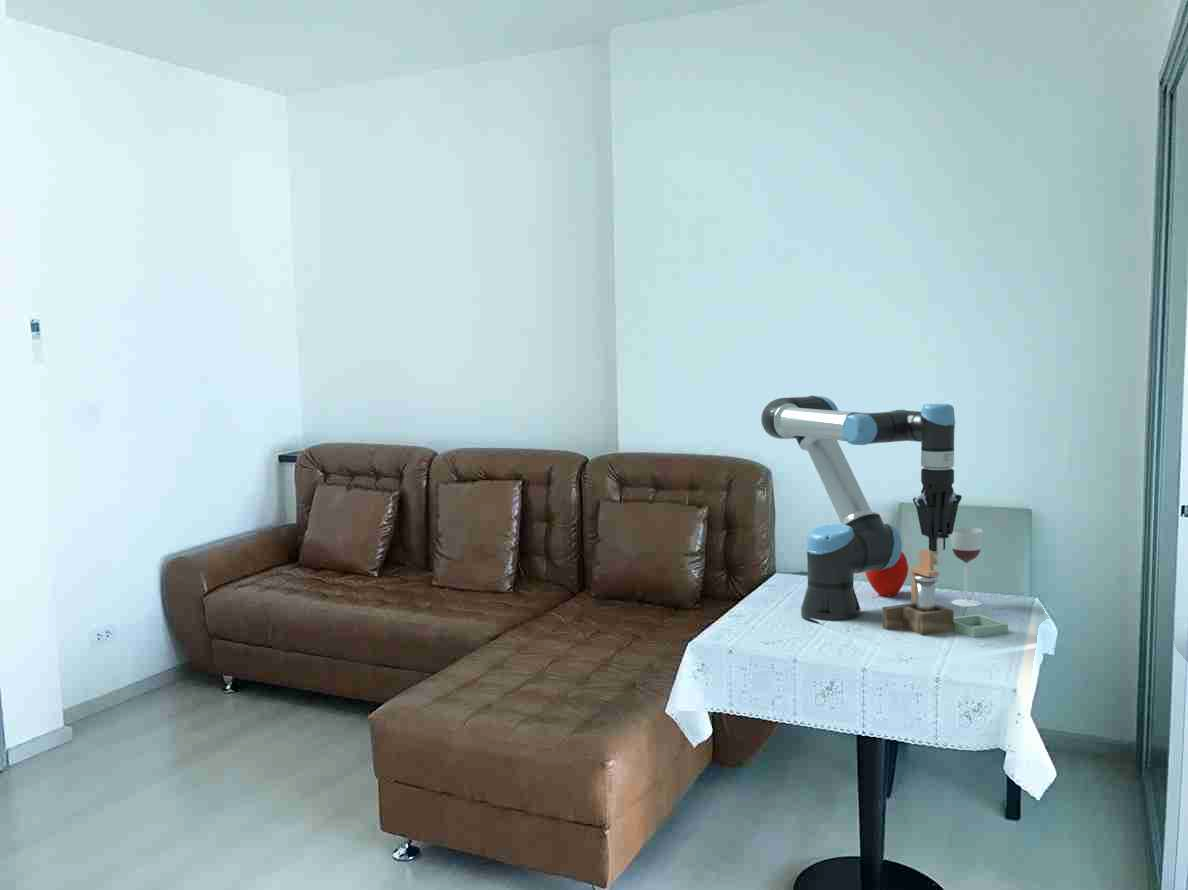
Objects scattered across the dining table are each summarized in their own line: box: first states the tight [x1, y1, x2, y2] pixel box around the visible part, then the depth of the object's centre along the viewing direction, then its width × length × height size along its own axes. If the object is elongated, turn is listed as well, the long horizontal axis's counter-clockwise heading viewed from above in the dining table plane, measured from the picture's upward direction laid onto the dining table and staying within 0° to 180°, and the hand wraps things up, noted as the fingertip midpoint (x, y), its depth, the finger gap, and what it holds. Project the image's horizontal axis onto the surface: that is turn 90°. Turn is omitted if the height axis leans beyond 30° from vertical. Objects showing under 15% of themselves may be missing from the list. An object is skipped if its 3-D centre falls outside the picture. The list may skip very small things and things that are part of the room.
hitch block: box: [882, 602, 954, 636], centre depth 237 cm, size 9×14×6 cm, turn 110°
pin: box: [914, 574, 939, 612], centre depth 237 cm, size 6×6×13 cm
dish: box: [953, 613, 1009, 639], centre depth 236 cm, size 10×10×3 cm
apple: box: [864, 551, 909, 597], centre depth 275 cm, size 12×12×13 cm
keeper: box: [908, 548, 940, 604], centre depth 238 cm, size 7×3×13 cm, turn 20°
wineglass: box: [950, 526, 984, 607], centre depth 263 cm, size 8×9×20 cm
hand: (936, 563), depth 238 cm, fingers closed
